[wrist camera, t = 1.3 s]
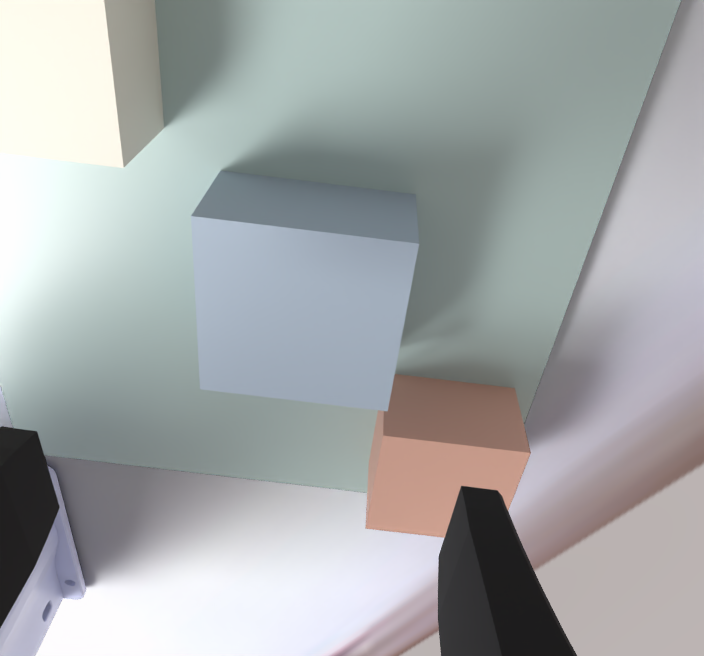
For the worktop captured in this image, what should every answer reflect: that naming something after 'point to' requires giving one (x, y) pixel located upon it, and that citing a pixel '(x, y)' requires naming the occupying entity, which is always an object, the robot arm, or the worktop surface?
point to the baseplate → (332, 168)
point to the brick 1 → (79, 79)
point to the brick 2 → (302, 288)
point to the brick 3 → (441, 451)
